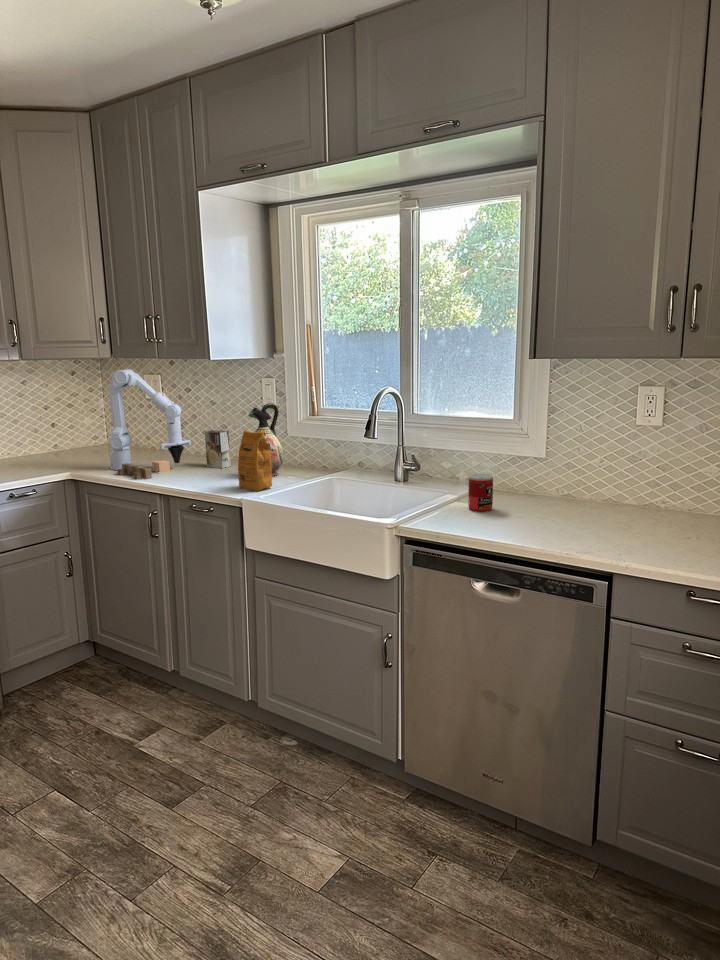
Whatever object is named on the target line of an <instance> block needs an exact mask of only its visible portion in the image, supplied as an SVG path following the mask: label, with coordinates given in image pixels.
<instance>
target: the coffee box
mask: <svg viewBox="0 0 720 960" xmlns="http://www.w3.org/2000/svg"><path fill="white" fill-rule="evenodd" d="M229 433H230V432H229V430H218V429H212V430H207V431H204V443H205V455H206V467H207V468H212V467H213V468H215V469H226V468H229V467H231V466H232V464H231V452H230V451H231V450H230V449H231V448H230V435H229ZM225 467H226V468H225Z"/></svg>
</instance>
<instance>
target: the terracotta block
mask: <svg viewBox="0 0 720 960" xmlns="http://www.w3.org/2000/svg"><path fill="white" fill-rule="evenodd" d="M151 465H152V466H151V467H152V468H151V469H152V472H153V471H155V472H154V473H157V472H164V473H166V472H165V471H170V472H171V467H170V461H167V460H164V459H161V460H153V461H151Z"/></svg>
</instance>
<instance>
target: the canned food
mask: <svg viewBox="0 0 720 960" xmlns="http://www.w3.org/2000/svg"><path fill="white" fill-rule="evenodd" d="M493 492H494V476H493V475H491V474H485V473H473V474H470V475H469V476H468V500H467V501H468V503H467V504H468V510H470V511H471V510H472V511H471V512H475V511H477V512H476V513H486V512H485V511H488V512H491V511H492V509H493V499H494V497H493V495H494V493H493ZM490 510H491V511H490Z"/></svg>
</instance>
